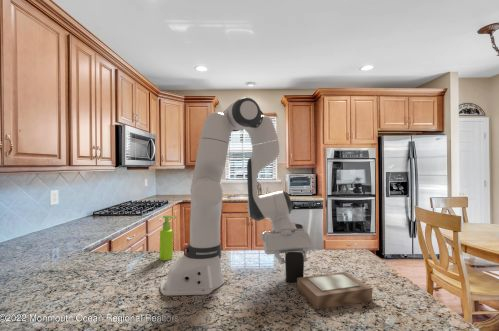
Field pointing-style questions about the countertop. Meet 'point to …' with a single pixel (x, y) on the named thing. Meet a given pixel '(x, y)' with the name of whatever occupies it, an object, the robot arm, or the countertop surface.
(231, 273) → the countertop surface
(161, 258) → the soap dispenser
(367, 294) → the brown flat rectangular block
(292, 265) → the battery charger
